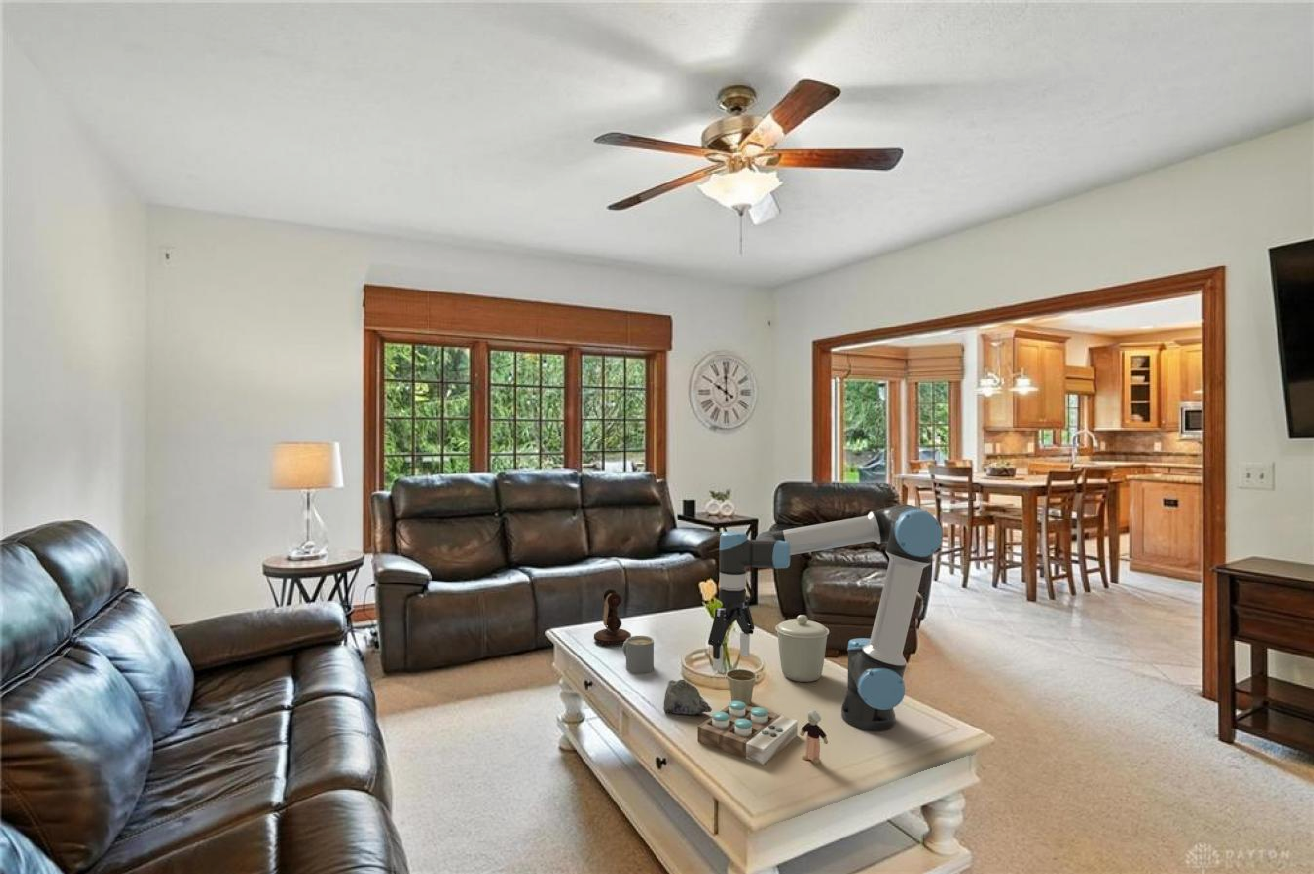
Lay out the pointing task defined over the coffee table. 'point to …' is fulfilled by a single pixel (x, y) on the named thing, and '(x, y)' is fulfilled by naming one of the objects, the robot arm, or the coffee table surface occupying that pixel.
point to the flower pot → (741, 685)
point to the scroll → (611, 621)
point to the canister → (802, 648)
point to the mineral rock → (684, 699)
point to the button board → (756, 746)
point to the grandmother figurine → (813, 737)
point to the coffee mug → (639, 654)
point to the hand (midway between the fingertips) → (731, 662)
